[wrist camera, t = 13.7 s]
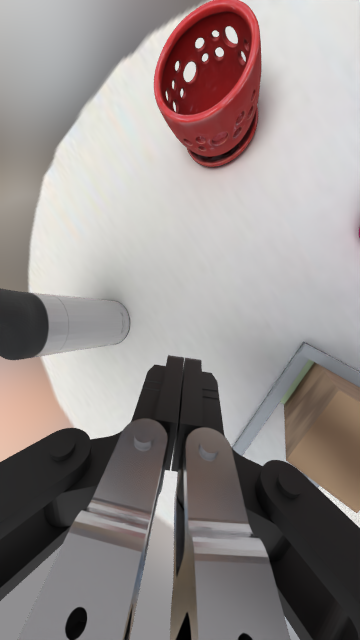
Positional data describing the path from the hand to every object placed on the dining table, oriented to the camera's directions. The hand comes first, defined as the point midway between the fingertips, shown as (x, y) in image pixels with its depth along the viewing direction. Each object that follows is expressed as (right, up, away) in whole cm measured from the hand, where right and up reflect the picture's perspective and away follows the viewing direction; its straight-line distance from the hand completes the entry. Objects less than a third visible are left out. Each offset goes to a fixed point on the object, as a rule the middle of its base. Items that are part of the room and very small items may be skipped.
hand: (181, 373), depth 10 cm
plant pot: (+7, +33, +27) cm, 43 cm away
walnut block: (+20, -8, +21) cm, 30 cm away
